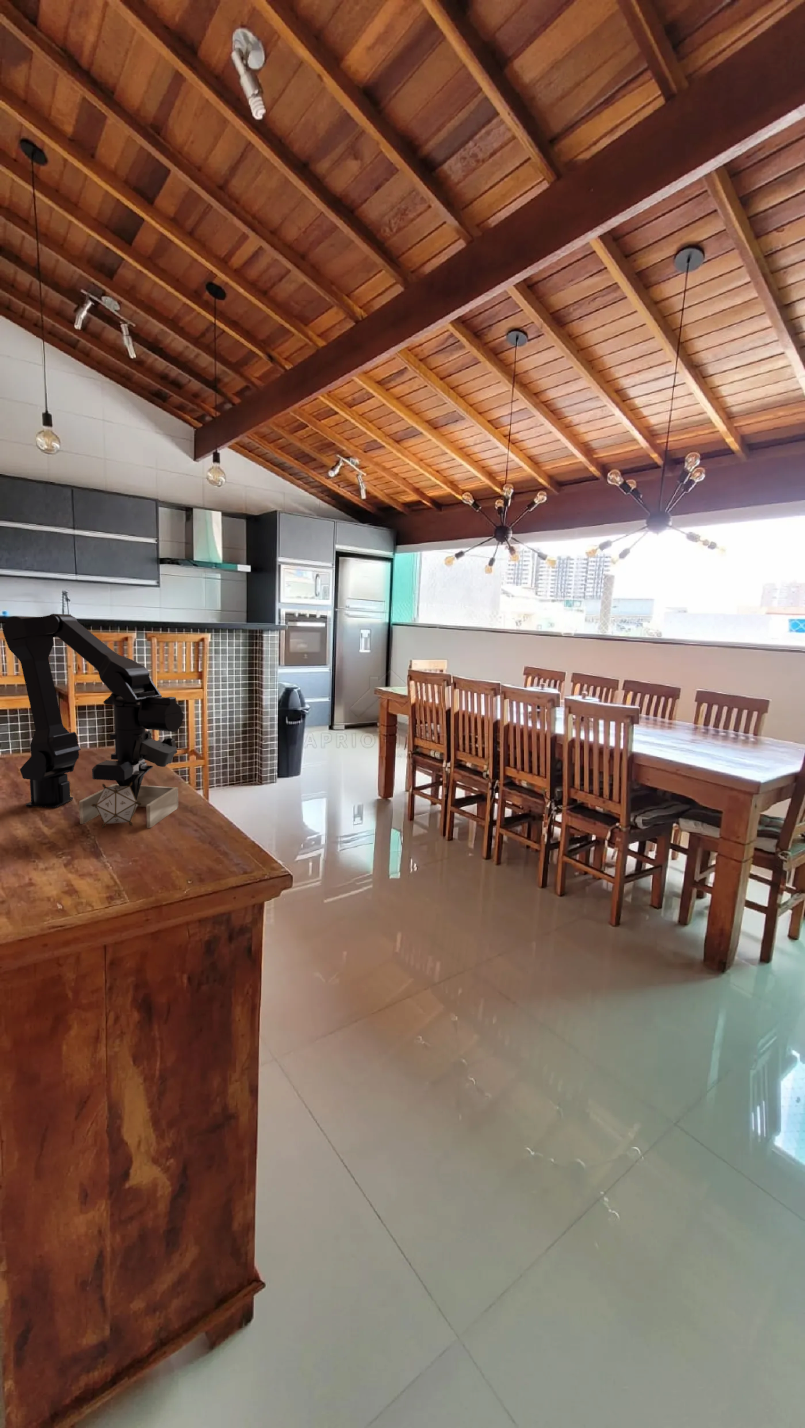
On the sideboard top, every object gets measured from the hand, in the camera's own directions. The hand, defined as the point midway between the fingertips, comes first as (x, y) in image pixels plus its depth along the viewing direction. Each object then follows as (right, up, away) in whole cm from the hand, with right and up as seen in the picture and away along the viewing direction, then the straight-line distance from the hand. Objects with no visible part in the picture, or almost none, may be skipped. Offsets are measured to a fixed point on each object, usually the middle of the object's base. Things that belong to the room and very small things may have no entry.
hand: (132, 802), depth 119 cm
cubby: (0, -3, 0) cm, 3 cm away
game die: (0, -4, -5) cm, 7 cm away
